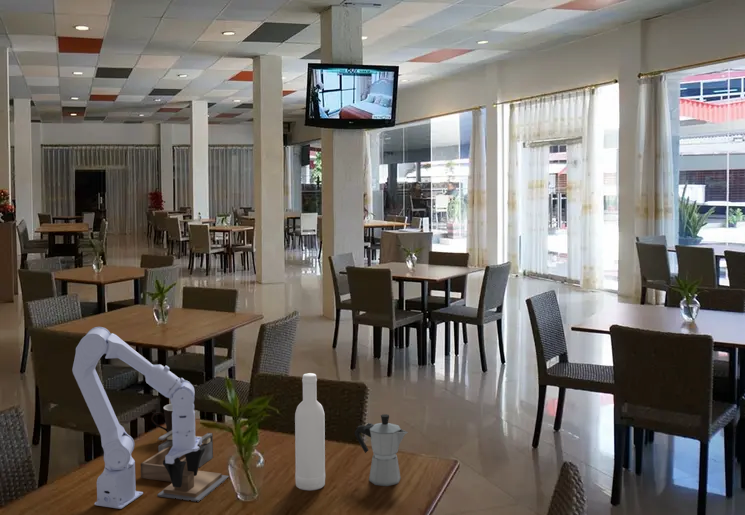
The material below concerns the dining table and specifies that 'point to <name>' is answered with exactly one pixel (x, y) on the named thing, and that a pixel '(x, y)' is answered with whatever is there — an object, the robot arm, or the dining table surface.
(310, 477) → the bottle
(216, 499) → the dining table surface
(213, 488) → the lid mat
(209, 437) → the bar
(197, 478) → the toolbox lid
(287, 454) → the dining table surface
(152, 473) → the toolbox
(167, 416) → the coffee mug
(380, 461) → the coffee maker
